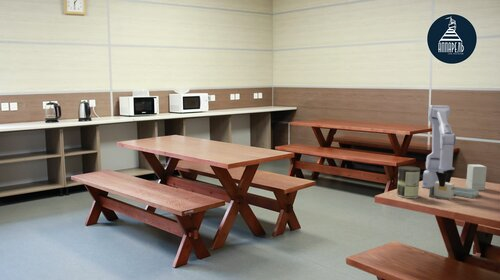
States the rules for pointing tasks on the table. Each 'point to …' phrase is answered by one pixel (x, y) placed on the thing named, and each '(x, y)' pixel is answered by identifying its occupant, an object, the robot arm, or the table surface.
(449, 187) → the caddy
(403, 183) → the coffee can
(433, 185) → the dock
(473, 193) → the tray
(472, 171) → the supplement box
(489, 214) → the table surface
